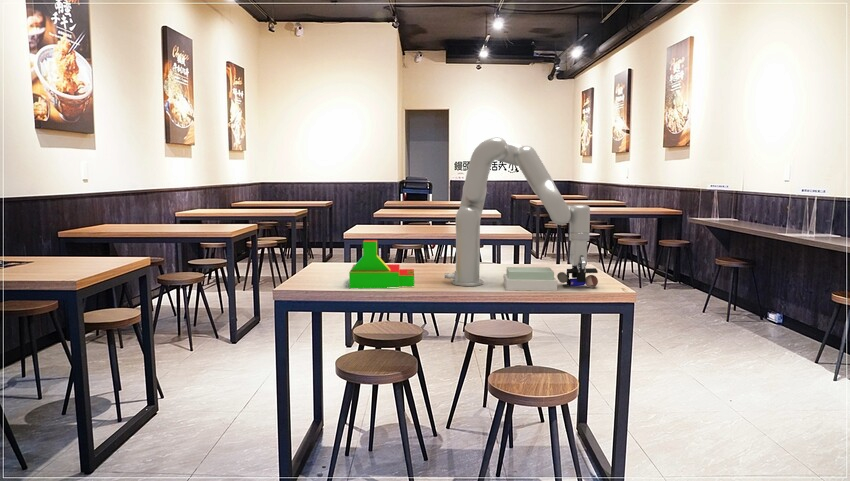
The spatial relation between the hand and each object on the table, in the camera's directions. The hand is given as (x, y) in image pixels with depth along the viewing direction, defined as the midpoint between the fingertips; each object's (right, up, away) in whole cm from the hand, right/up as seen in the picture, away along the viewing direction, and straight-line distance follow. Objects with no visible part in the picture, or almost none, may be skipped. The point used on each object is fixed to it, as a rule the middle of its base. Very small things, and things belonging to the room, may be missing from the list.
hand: (578, 280), depth 228 cm
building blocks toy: (-77, -2, +6) cm, 77 cm away
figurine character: (0, -3, 0) cm, 3 cm away
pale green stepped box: (-19, -3, -1) cm, 20 cm away
